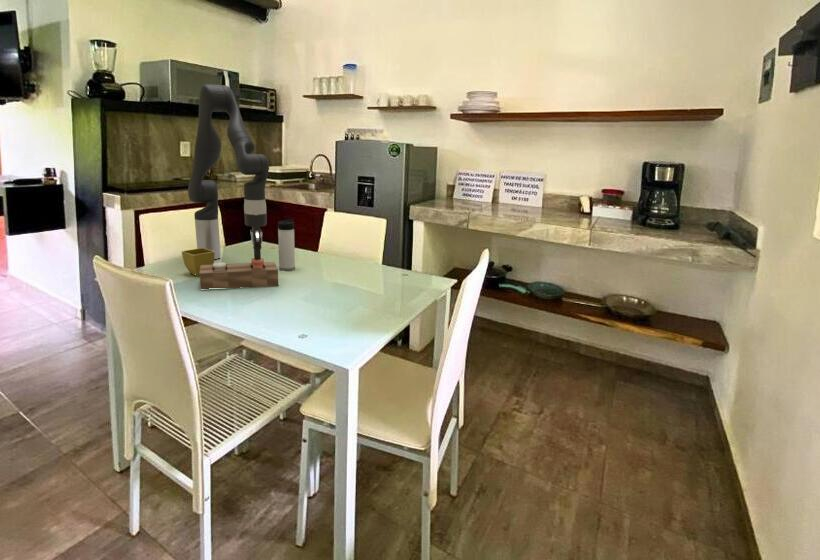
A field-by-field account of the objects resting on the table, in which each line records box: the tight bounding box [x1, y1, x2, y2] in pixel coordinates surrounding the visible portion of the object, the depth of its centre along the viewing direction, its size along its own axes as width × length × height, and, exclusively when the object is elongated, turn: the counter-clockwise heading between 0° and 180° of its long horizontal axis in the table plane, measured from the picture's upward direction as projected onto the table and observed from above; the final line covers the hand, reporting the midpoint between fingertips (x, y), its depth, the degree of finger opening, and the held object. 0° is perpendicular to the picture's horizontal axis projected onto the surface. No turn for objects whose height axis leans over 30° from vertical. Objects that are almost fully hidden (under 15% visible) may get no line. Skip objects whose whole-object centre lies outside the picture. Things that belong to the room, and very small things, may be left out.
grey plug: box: [213, 261, 227, 270], centre depth 172 cm, size 4×4×7 cm
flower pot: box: [180, 248, 215, 276], centre depth 184 cm, size 9×9×9 cm
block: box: [199, 261, 279, 290], centre depth 175 cm, size 12×26×6 cm, turn 111°
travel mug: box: [277, 218, 296, 272], centre depth 195 cm, size 6×7×20 cm
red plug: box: [250, 257, 265, 269], centre depth 177 cm, size 4×4×7 cm
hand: (257, 259), depth 176 cm, fingers closed
